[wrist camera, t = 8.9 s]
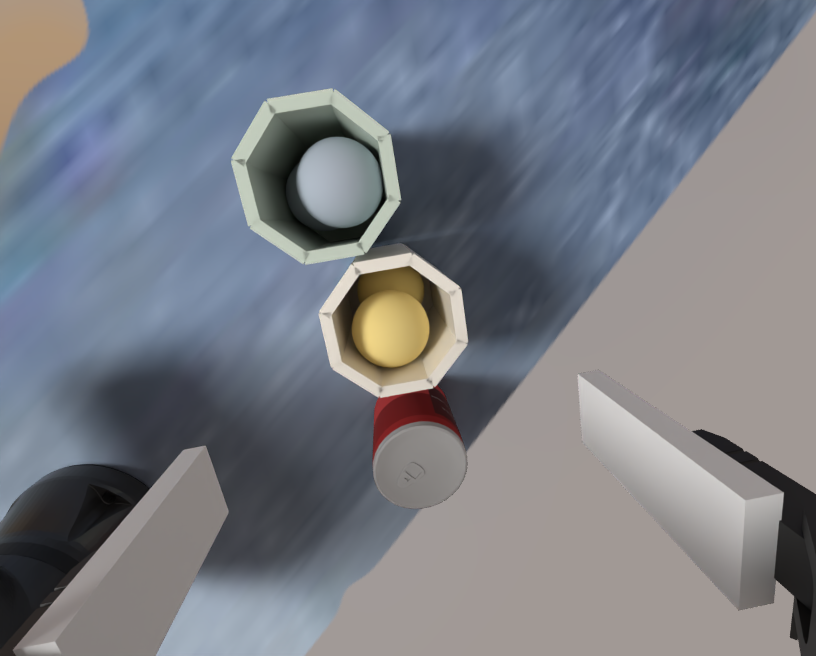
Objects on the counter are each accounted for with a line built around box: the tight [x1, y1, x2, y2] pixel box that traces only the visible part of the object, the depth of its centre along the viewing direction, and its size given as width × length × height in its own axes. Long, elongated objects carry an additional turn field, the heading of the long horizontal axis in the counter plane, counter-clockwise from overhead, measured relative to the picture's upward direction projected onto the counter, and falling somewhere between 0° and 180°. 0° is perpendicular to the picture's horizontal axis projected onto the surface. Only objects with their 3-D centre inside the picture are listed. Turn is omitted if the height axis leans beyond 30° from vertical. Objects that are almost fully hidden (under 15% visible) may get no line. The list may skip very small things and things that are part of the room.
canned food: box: [373, 385, 467, 509], centre depth 38 cm, size 8×8×11 cm
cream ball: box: [357, 266, 424, 304], centre depth 36 cm, size 6×6×6 cm
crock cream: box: [319, 243, 468, 398], centre depth 33 cm, size 10×10×13 cm
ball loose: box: [352, 290, 429, 368], centre depth 31 cm, size 6×6×6 cm
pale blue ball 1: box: [286, 162, 338, 231], centre depth 33 cm, size 6×6×6 cm
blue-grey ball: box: [296, 137, 383, 228], centre depth 28 cm, size 6×6×6 cm
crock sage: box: [231, 88, 401, 265], centre depth 31 cm, size 10×10×13 cm
